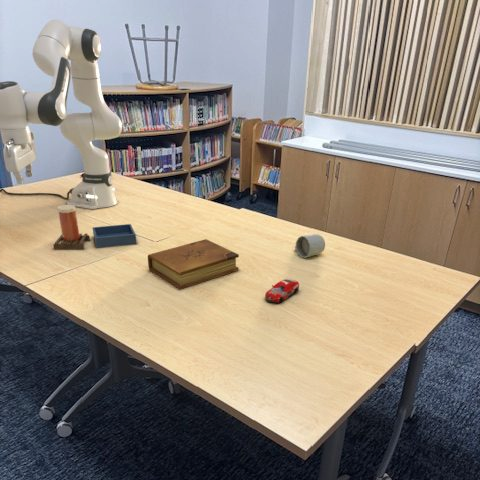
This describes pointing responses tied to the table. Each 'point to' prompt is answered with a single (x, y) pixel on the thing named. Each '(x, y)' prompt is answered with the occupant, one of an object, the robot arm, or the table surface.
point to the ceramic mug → (310, 245)
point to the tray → (114, 235)
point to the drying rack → (68, 245)
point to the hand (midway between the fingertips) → (25, 179)
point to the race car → (282, 290)
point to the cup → (68, 222)
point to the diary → (192, 263)
